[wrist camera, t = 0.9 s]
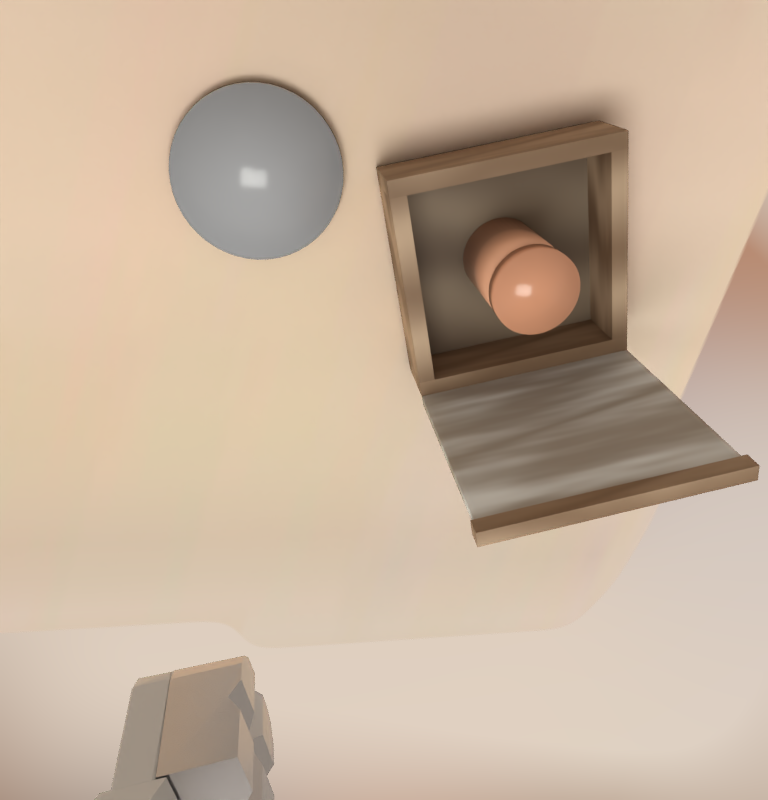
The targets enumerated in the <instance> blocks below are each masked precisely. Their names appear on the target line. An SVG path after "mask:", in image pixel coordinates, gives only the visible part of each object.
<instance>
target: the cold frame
mask: <svg viewBox="0 0 768 800" xmlns="http://www.w3.org/2000/svg"><path fill="white" fill-rule="evenodd" d="M376 168H377V174H378V180H379V186H380V192H381V198H382V204H383V210H384V215H385V221H386V227H387V233H388V239H389V245H390V251H391V257H392V263H393V269H394V275H395V280H396V286H397V292H398V298H399V304H400V310H401V316H402V322H403V328H404V334H405V340H406V345H407V351H408V357H409V363H410V369H411V372H412V374H413V376H414V379H415V381H416V383H417V386H418V388H419V391H420V393H421V395H422V400H423V405H424V407H425V410H426V412H427V414H428V417H429V419H430V422H431V424H432V426H433V429H434V431H435V434H436V436H437V438H438V441H439V443H440V446H441V448H442V450H443V453H444V455H445V458H446V460H447V462H448V465H449V467H450V470H451V472H452V474H453V477H454V479H455V482H456V484H457V486H458V489H459V491H460V494H461V496H462V498H463V501H464V503H465V506H466V508H467V510H468V513H469V515H470V518H471V528H472V534H473V537H474V539H475V542H476V544H477V547H480V546H485V545H489V544H493V543H497V542H501V541H505V540H510V539H514V538H518V537H522V536H526V535H530V534H535V533H539V532H543V531H547V530H551V529H556V528H560V527H564V526H568V525H572V524H576V523H581V522H585V521H589V520H593V519H597V518H602V517H606V516H610V515H614V514H618V513H622V512H627V511H631V510H635V509H639V508H643V507H647V506H652V505H656V504H660V503H664V502H668V501H673V500H677V499H681V498H685V497H689V496H693V495H697V494H702V493H705V492H710V491H714V490H719V489H723V488H727V487H731V486H735V485H739V484H744V483H747V482H752V481H756V480H758V473H759V465H758V464H757V463H756V462H754V460H753V459H752V458H751V457H749V456H748V455H743V456H741V455H740V454H738V452H736V451H735V450H734V449H733V448H732V447H731V446H730V445H729V444H728V443H727V442H726V441H725V440H723V439H722V438H721V437H720V436H719V435H718V434H717V433H716V432H715V431H714V430H712V428H710V427H709V426H708V425H707V424H706V423H705V422H704V421H703V420H702V419H701V418H700V417H699V416H698V415H696V414H695V413H694V412H693V411H692V410H691V409H690V408H689V407H688V406H687V405H686V404H684V403H683V402H682V401H681V400H680V399H679V398H678V397H677V396H676V395H675V394H674V393H673V392H672V391H671V390H669V389H668V388H667V387H666V386H665V385H664V384H663V383H662V382H661V381H660V380H659V379H658V378H657V377H655V376H654V375H653V374H652V373H651V372H650V371H649V370H648V369H647V368H646V367H645V366H644V365H642V364H641V363H640V362H639V361H638V360H637V359H636V358H635V357H634V356H633V355H632V354H631V353H630V352H628V351H627V252H628V130H626V129H623V128H620V127H617V126H614V125H611V124H607V123H604V122H601V121H595V122H590V123H585V124H580V125H576V126H571V127H566V128H561V129H557V130H552V131H547V132H542V133H537V134H533V135H528V136H523V137H518V138H514V139H509V140H504V141H499V142H494V143H490V144H485V145H480V146H475V147H471V148H466V149H461V150H456V151H451V152H447V153H442V154H437V155H432V156H428V157H423V158H418V159H413V160H409V161H404V162H399V163H394V164H389V165H385V166H380V167H376ZM504 217H507V218H514V219H517V220H519V221H521V222H523V223H525V224H526V225H527V226H528V227H530V228H531V229H532V230H533V231H535V232H536V233H537V234H538V235H539V236H541V237H542V238H543V239H544V240H546V241H547V242H548V243H549V244H551V245H552V246H553V247H554V248H556V249H558V250H559V251H561V252H562V253H563V254H565V255H566V256H567V257H568V258H569V259H570V260H571V261H572V262H573V263H574V264H575V266H576V268H577V270H578V273H579V276H580V294H579V297H578V301H577V303H576V305H575V307H574V309H573V310H572V312H571V313H570V315H569V316H568V317H567V318H566V319H565V320H564V321H563V322H562V323H561V324H559V325H558V326H556V327H555V328H553V329H551V330H549V331H546V332H544V333H540V334H534V335H527V334H520V333H517V332H514V331H512V330H510V329H509V328H507V327H506V326H505V325H504V324H503V323H502V322H501V321H500V319H499V318H498V317H497V316H496V314H495V313H494V311H493V309H492V308H491V307H490V305H489V304H488V303H487V301H486V300H485V299H484V298H483V296H482V295H481V294H480V292H479V291H478V290H477V289H476V287H475V286H474V285H473V283H472V282H471V281H470V279H469V278H468V276H467V274H466V272H465V269H464V264H463V255H464V250H465V247H466V244H467V242H468V240H469V238H470V237H471V235H472V234H473V233H474V232H475V231H476V230H477V229H478V228H479V227H480V226H481V225H483V224H484V223H486V222H488V221H490V220H493V219H496V218H504Z"/></svg>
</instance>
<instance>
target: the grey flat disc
mask: <svg viewBox="0 0 768 800" xmlns="http://www.w3.org/2000/svg"><path fill="white" fill-rule="evenodd" d="M169 175H170V183H171V187H172V191H173V195H174V197H175V200H176V202H177V205H178V207H179V209H180V211H181V212H182V214H183V216H184V217H185V219H186V220H187V222H188V223H189V224H190V226H191V227H192V228H193V229H194V230H195V231H196V232H197V233H198V234H199V235H200V236H201V237H202V238H204V239H205V240H206V241H207V242H209V243H210V244H212V245H213V246H215V247H216V248H218V249H220V250H222V251H224V252H227V253H229V254H232V255H235V256H238V257H243V258H247V259H257V260H259V259H274V258H280V257H283V256H287V255H290V254H292V253H294V252H297V251H299V250H301V249H302V248H304V247H306V246H307V245H309V244H310V243H311V242H313V241H314V240H315V239H316V238H317V237H318V236H319V235H320V234H321V233H322V232H323V231H324V230H325V228H326V227H327V226H328V224H329V223H330V221H331V220H332V218H333V216H334V214H335V212H336V210H337V207H338V205H339V201H340V198H341V194H342V187H343V165H342V158H341V154H340V150H339V147H338V144H337V142H336V139H335V137H334V135H333V133H332V131H331V130H330V128H329V126H328V124H327V123H326V122H325V120H324V119H323V117H322V116H321V115H320V114H319V113H318V112H317V111H316V109H315V108H314V107H313V106H312V105H310V104H309V103H308V102H307V101H305V100H304V99H303V98H301V97H300V96H298V95H297V94H295V93H293V92H291V91H289V90H287V89H285V88H282V87H279V86H276V85H273V84H268V83H262V82H241V83H234V84H231V85H227V86H223V87H221V88H219V89H217V90H214V91H212V92H211V93H209V94H208V95H206V96H204V97H203V98H202V99H201V100H199V101H198V102H197V103H196V104H195V105H194V106H193V107H192V108H191V109H190V110H189V112H188V113H187V114H186V115H185V117H184V118H183V120H182V122H181V123H180V125H179V127H178V129H177V131H176V133H175V135H174V139H173V142H172V145H171V150H170V157H169Z"/></svg>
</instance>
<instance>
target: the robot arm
mask: <svg viewBox="0 0 768 800" xmlns="http://www.w3.org/2000/svg"><path fill="white" fill-rule="evenodd" d="M273 765H274V752H273V738H272V730H271V722H270V718H269V714H268V710H267V706H266V703H265V700H264V697H263V695H262V694H260V693H258V692H256V691H255V673H254V670H253V668H252V666H251V663H250V661H249V658H248V657H246V656H241V657H236V658H232V659H227V660H222V661H217V662H213V663H208V664H203V665H198V666H193V667H189V668H184V669H179V670H175V671H173V672H168V673H163V674H159V675H154V676H149V677H144V678H140V679H138V680H137V682H136V684H135V685H134V687H133V689H132V692H131V697H130V701H129V706H128V710H127V715H126V720H125V725H124V730H123V734H122V740H121V744H120V749H119V754H118V758H117V763H116V768H115V773H114V778H113V782H112V787H111V790H110V791H106V792H102V793H99V795H98V796H97V797H96V798H95V800H274V794H273V791H272V788H271V786H270V783H269V780H268V778H267V775H268V773H269V771H270V769H271V768H272V766H273Z"/></svg>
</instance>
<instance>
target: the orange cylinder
mask: <svg viewBox="0 0 768 800" xmlns="http://www.w3.org/2000/svg"><path fill="white" fill-rule="evenodd" d="M463 264H464V269H465V272H466V274H467V276H468V278H469V279H470V281H471V282H472V283H473V285H474V286H475V287H476V289H477V290H478V291H479V292H480V294H481V295H482V296H483V298H484V299H485V300H486V301H487V303H488V304H489V305H490V307H491V308H492V309H493V311H494V313H495V314H496V316H497V317H498V318H499V319H500V321H501V322H502V323H503V324H504V325H505V326H506V327H507V328H509V329H510V330H512V331H514V332H517V333H520V334H527V335H534V334H540V333H544V332H546V331H549V330H551V329H553V328H555V327H556V326H558V325H559V324H561V323H562V322H563V321H564V320H565V319H566V318H567V317H568V316H569V315H570V313H571V312H572V310H573V309H574V307H575V305H576V303H577V301H578V297H579V294H580V276H579V273H578V270H577V268H576V266H575V264H574V263H573V262H572V261H571V260H570V259H569V258H568V257H567V256H566V255H565V254H563V253H562V252H561V251H559V250H558V249H556V248H554V247H553V246H552V245H551V244H549V243H548V242H547V241H546V240H544V239H543V238H542V237H541V236H539V235H538V234H537V233H536V232H535V231H533V230H532V229H531V228H530V227H528V226H527V225H526V224H525V223H523V222H521V221H519V220H517V219H514V218H507V217H504V218H496V219H493V220H490V221H488V222H486V223H484V224H483V225H481V226H480V227H479V228H478V229H477V230H476V231H475V232H474V233H473V234H472V235H471V237H470V238H469V240H468V242H467V244H466V247H465V250H464V255H463Z"/></svg>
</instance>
